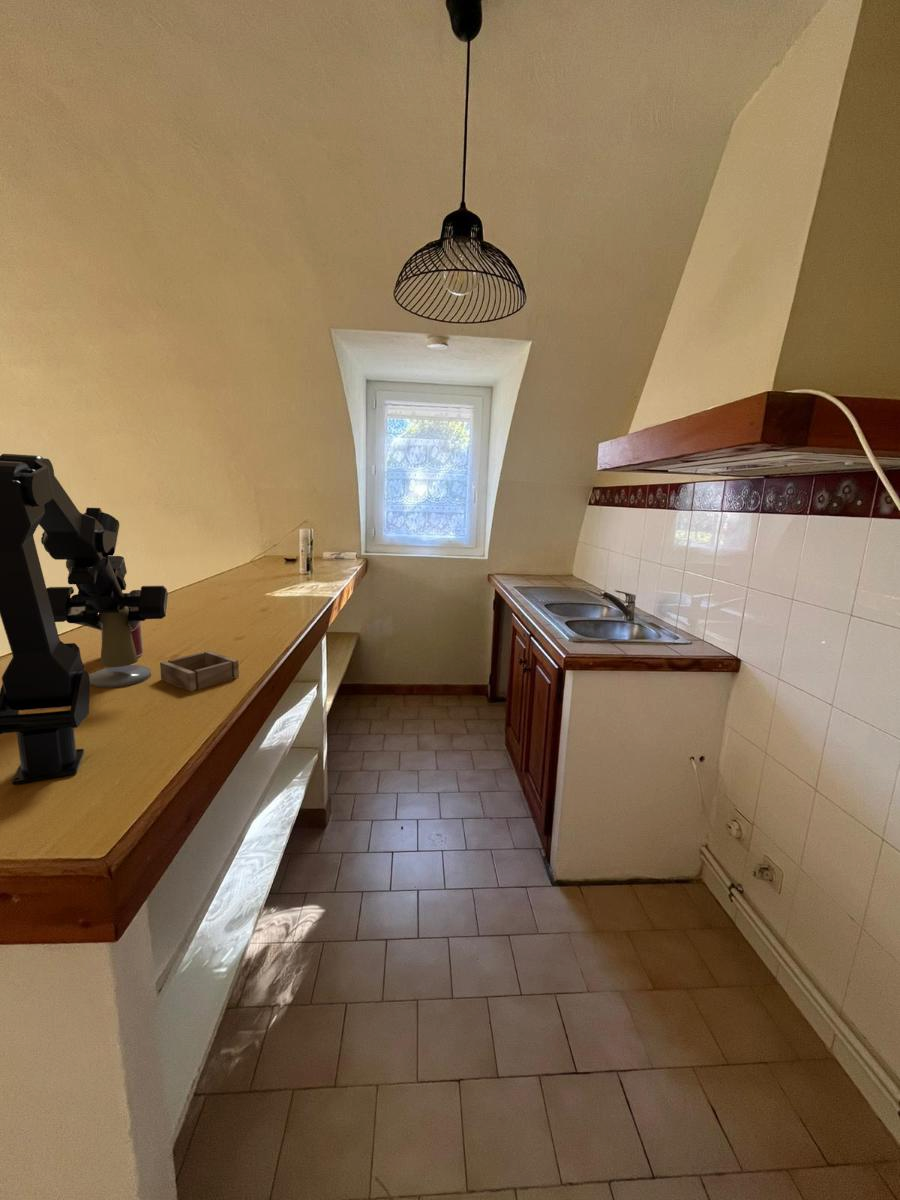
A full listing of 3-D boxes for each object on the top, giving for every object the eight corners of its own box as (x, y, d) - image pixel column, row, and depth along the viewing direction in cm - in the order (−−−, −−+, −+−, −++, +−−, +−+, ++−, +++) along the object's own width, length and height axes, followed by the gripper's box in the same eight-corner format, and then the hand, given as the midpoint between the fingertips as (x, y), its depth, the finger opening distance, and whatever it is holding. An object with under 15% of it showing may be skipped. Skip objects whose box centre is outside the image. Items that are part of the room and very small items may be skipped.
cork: (131, 666, 95) (126, 609, 93) (94, 667, 94) (89, 609, 92) (142, 657, 101) (138, 602, 99) (108, 658, 99) (103, 603, 97)
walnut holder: (238, 677, 101) (238, 660, 101) (190, 691, 93) (189, 673, 92) (209, 666, 107) (208, 650, 106) (161, 679, 98) (160, 662, 98)
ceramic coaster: (149, 683, 96) (149, 678, 96) (85, 690, 91) (84, 685, 91) (152, 667, 105) (151, 662, 104) (93, 673, 100) (93, 668, 100)
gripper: (162, 542, 92) (176, 592, 105) (38, 541, 86) (68, 593, 98) (156, 592, 86) (171, 638, 99) (22, 594, 80) (56, 643, 92)
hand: (118, 627), depth 97 cm, fingers closed on cork, 5 cm apart
